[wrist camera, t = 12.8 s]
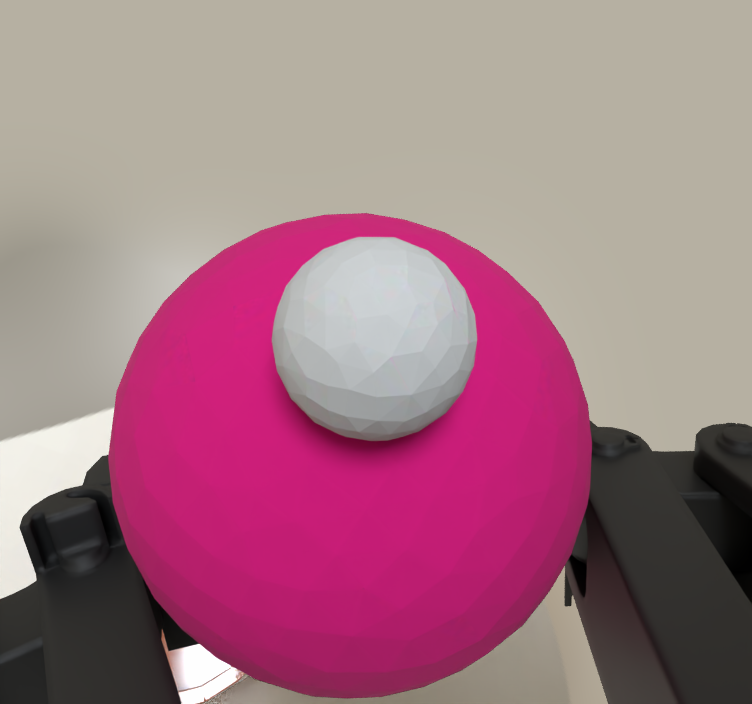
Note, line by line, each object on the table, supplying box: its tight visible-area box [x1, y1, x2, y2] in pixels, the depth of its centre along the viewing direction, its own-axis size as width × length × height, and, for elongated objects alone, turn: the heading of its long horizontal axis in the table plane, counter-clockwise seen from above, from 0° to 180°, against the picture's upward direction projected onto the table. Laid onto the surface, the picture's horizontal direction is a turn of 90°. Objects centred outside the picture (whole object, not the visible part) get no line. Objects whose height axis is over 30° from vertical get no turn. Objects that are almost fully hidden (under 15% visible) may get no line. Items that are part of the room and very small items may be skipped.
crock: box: [161, 630, 249, 704], centre depth 35 cm, size 11×11×7 cm
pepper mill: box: [108, 213, 592, 698], centre depth 14 cm, size 7×7×20 cm
